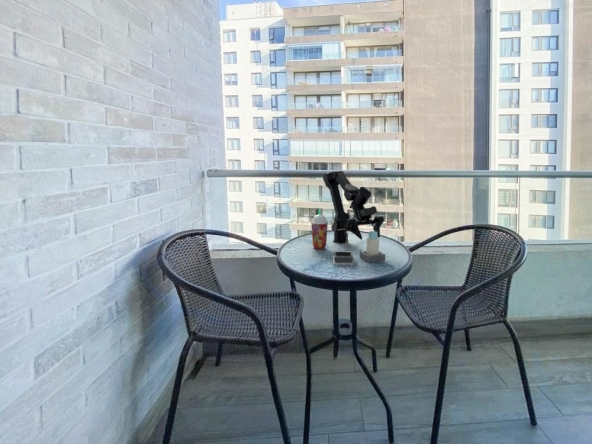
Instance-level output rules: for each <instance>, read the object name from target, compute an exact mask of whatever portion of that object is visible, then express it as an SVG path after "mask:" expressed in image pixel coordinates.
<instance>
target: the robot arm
mask: <svg viewBox="0 0 592 444" xmlns="http://www.w3.org/2000/svg"><path fill="white" fill-rule="evenodd" d="M322 180H323V182H324V185H325V187H327V188H328V189H329V192H330V197H331V201H332V204H333V205H332V206H333V209H334V214H335V215H334V218H333V223H332V225H331V231H333V241H332V243H335V244H336V243H337V244H346V243H347V242H349V233H348V232H351V233H352V234H354V235H355V236H356V237H357V238H358V239H359V240H363V235H362V233H361V231H360V229H359V226H366V225H371V227H372V231H375V232H378V233H377V238H378V239H380V237H381V227H382V224H384V222H385V218H384V217H383V216H382V215H381V216H380V215H379V216H375V217H374V218H373V219H371V218H372V216H374V215H375V214H377V213H378V210H377V207H376V206H375V205H374V206H372V205H371V206H370V207H365V205H366V204H367V203H368V201H369V200H370V199H371V196H372V192H371V191H370V190H369V189H367V188H365V186H361V187H358V186H356V185H353V184H352V183H351V181H350V180H349V179H348V178H347V177H346V175H345V173H344V171H343V170H334V171H331V172H325V173H324V174H323V177H322ZM339 186H340V187H341V189H342V190H343V197H344V198H345V200H346V201H348V202H350V201H351V202H350V205H349V209H352V212H353V214H354V215H353V218H351V217H350V213H349V212H346V211H345V209H344V204H343V201H342V197H341V193H340V189H339Z"/></svg>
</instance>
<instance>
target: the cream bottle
mask: <svg viewBox="0 0 592 444" xmlns="http://www.w3.org/2000/svg"><path fill="white" fill-rule="evenodd" d="M377 233H378V232H375V231H374V230H372V231H368V237H367V238H366V251H367V253H366V254H368V255H369V256H372V255H379V252H380V249H379V247H380V238H378V237H377Z"/></svg>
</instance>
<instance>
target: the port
mask: <svg viewBox="0 0 592 444" xmlns="http://www.w3.org/2000/svg"><path fill="white" fill-rule="evenodd" d="M332 261H333V262H332V264H333V265H334V266H335V265H336V266H354V265H355V262H354V254H353V251H333V257H332Z"/></svg>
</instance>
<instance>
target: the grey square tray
mask: <svg viewBox="0 0 592 444" xmlns="http://www.w3.org/2000/svg"><path fill="white" fill-rule="evenodd" d="M366 253H367V250H362V251H359V258H360V259H362V260H363V261H365V262H367V263H368V264H372V263H373V264H374V263H380V262H386V254H385V253H383V252H381V251H379V255H372V256H369V255H368V254H366Z"/></svg>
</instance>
